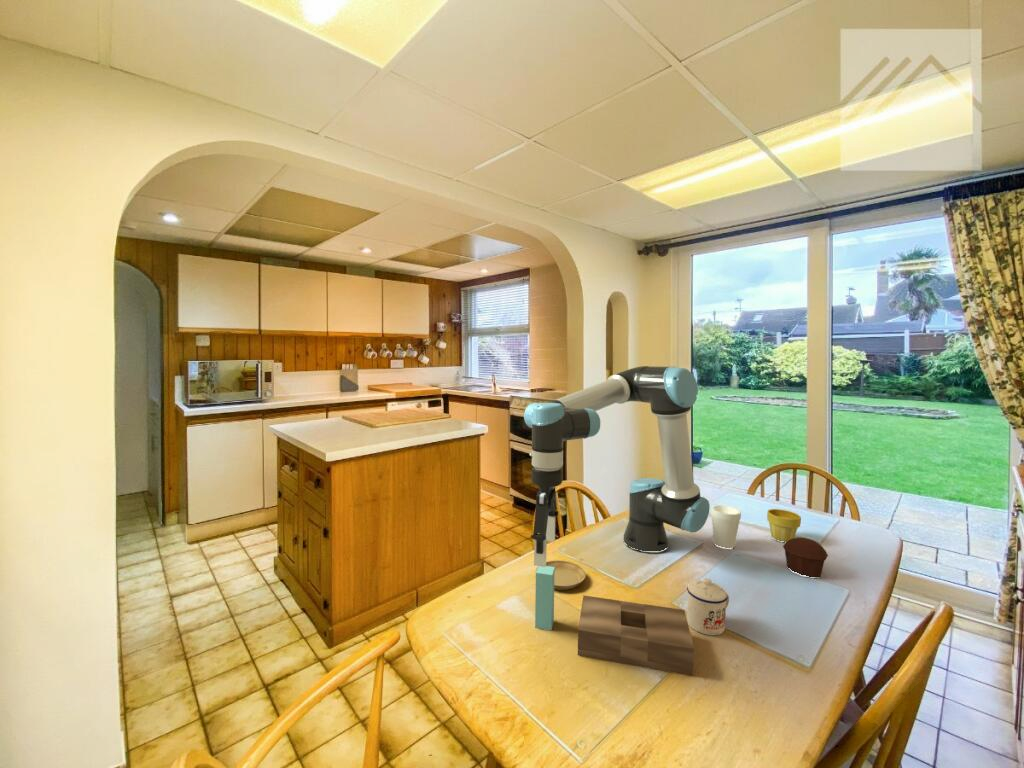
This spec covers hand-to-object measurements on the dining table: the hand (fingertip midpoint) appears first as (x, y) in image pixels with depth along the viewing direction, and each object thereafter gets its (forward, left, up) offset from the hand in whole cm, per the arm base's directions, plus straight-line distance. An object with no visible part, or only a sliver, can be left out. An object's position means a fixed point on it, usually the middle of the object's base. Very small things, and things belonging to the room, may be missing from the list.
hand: (545, 552), depth 105 cm
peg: (0, 0, -18) cm, 18 cm away
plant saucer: (-22, +1, -19) cm, 29 cm away
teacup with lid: (-11, +40, -19) cm, 46 cm away
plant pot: (-71, +76, -19) cm, 106 cm away
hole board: (+2, +21, -18) cm, 28 cm away
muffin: (-47, +74, -19) cm, 90 cm away
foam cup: (-60, +54, -19) cm, 83 cm away
